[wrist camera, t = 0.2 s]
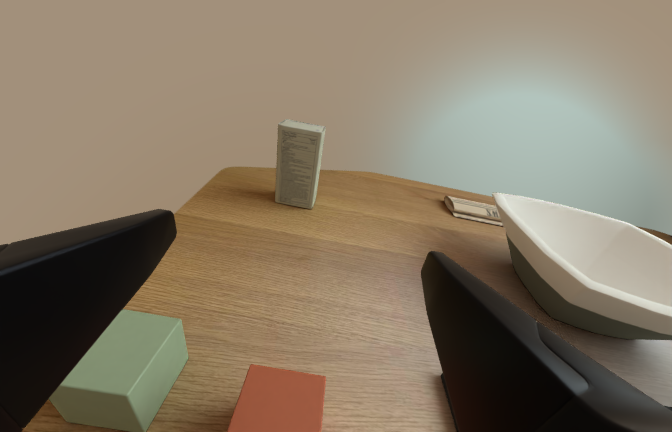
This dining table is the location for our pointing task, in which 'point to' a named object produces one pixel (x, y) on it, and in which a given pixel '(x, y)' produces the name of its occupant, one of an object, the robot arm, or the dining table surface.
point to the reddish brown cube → (279, 401)
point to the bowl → (590, 268)
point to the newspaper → (473, 210)
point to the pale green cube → (124, 373)
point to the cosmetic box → (298, 163)
